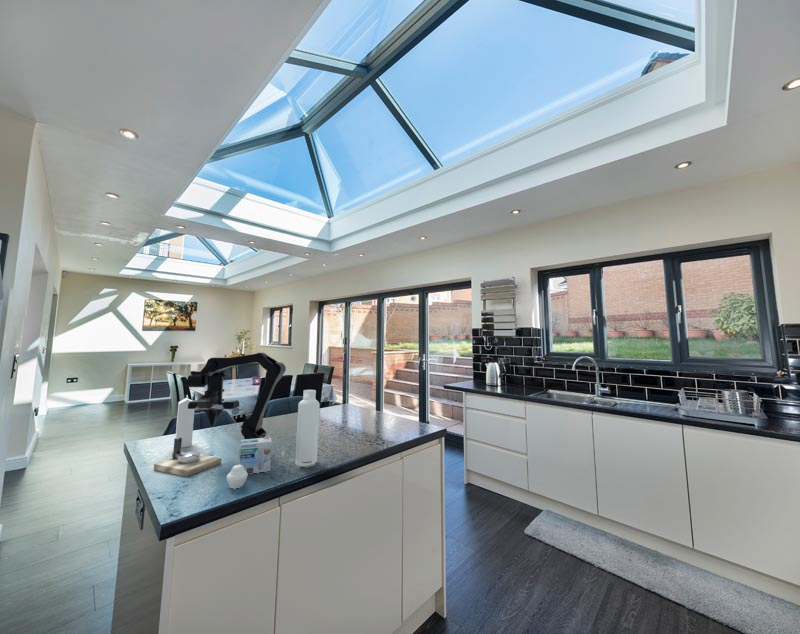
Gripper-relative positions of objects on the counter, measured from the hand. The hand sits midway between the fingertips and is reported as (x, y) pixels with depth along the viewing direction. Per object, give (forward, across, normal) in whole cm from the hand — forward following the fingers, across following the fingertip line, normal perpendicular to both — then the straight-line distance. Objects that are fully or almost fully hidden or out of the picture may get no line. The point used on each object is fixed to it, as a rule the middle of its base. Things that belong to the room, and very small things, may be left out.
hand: (212, 425), depth 135 cm
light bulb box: (+12, +25, -16) cm, 32 cm away
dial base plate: (+12, -1, -13) cm, 18 cm away
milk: (+12, -19, +11) cm, 25 cm away
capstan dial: (+9, -3, -12) cm, 16 cm away
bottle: (+13, +41, -8) cm, 44 cm away
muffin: (+12, +25, -30) cm, 41 cm away
